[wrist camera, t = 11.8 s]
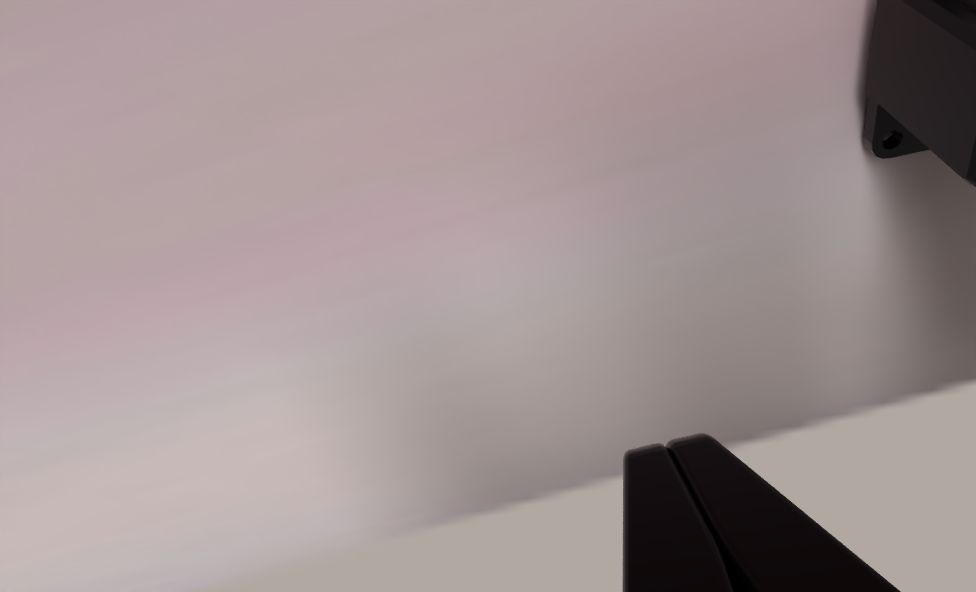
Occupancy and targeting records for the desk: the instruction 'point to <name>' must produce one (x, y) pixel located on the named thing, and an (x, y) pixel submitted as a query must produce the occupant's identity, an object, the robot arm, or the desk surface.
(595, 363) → the desk surface
